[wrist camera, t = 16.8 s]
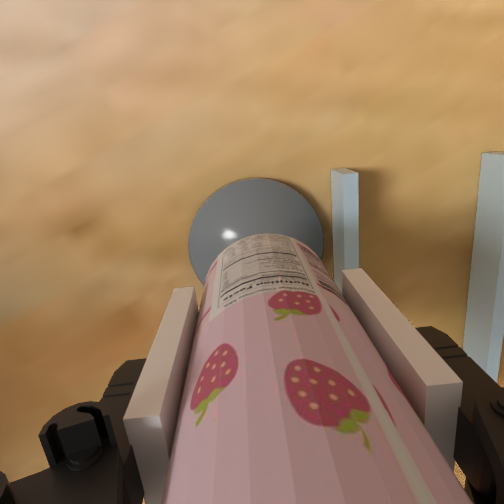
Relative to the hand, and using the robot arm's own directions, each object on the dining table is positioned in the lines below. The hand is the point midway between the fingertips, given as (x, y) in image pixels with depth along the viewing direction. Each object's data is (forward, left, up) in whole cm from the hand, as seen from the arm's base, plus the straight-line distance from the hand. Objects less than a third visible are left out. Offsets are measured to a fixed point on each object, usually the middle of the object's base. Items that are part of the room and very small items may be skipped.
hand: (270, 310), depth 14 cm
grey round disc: (0, 0, -9) cm, 9 cm away
